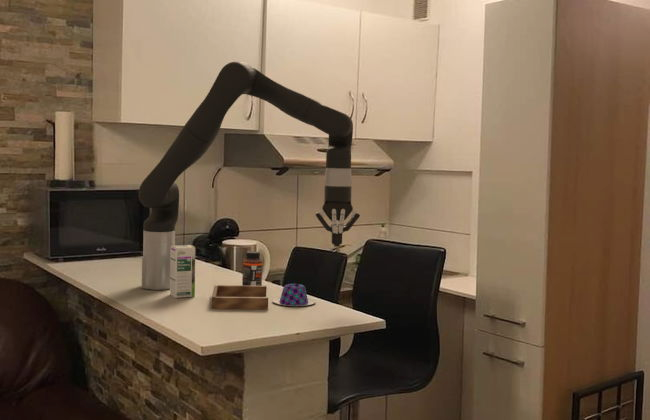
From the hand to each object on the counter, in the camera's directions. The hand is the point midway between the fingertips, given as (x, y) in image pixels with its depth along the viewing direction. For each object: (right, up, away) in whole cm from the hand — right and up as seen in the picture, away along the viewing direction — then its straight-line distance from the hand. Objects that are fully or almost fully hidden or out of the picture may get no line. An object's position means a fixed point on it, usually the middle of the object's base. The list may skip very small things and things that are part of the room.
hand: (336, 246), depth 205 cm
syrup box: (-44, -15, +4) cm, 47 cm away
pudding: (-12, -16, 0) cm, 20 cm away
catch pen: (-26, -16, -2) cm, 31 cm away
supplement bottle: (-26, -14, +18) cm, 34 cm away
